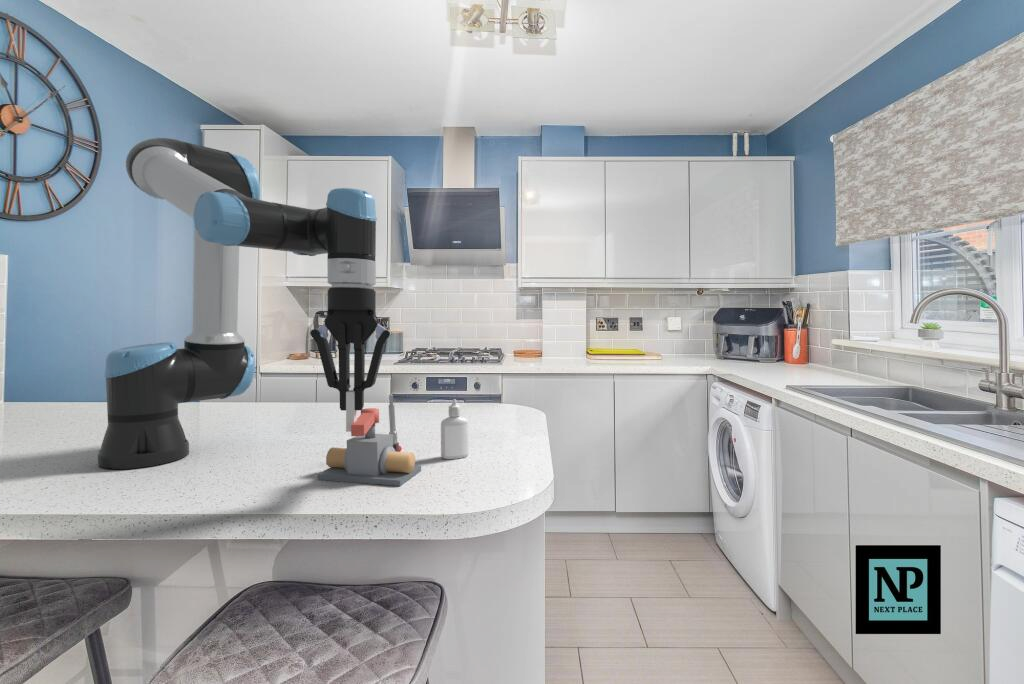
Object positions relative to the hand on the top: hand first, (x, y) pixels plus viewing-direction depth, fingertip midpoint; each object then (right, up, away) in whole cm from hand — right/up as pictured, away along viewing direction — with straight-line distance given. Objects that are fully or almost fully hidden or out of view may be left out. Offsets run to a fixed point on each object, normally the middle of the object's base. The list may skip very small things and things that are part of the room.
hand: (351, 429), depth 85 cm
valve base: (+1, -10, +9) cm, 14 cm away
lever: (+1, 0, +4) cm, 4 cm away
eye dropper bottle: (+15, -10, +21) cm, 28 cm away
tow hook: (-2, -10, +22) cm, 24 cm away
